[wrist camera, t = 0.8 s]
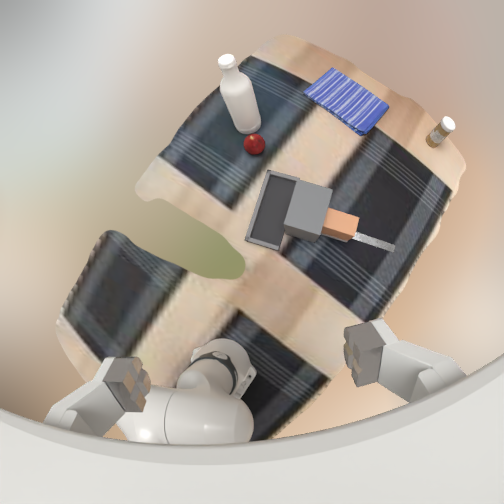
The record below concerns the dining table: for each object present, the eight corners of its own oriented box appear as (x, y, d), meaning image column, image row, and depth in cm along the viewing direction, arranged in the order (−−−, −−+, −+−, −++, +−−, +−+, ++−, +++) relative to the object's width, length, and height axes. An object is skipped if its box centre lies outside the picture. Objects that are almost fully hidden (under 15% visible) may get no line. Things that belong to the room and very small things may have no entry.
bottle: (265, 128, 76) (250, 61, 46) (241, 139, 77) (215, 76, 47) (254, 109, 77) (235, 42, 47) (231, 120, 78) (203, 56, 48)
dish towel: (362, 139, 72) (364, 135, 69) (301, 95, 76) (301, 90, 73) (389, 109, 71) (392, 104, 68) (332, 69, 75) (332, 64, 72)
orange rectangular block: (346, 242, 70) (354, 238, 60) (295, 226, 72) (295, 219, 62) (351, 224, 70) (360, 216, 60) (300, 208, 72) (301, 198, 62)
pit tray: (278, 250, 73) (277, 250, 70) (246, 240, 74) (244, 239, 72) (299, 181, 73) (299, 178, 71) (268, 172, 75) (267, 169, 72)
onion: (269, 144, 75) (266, 131, 67) (261, 161, 75) (258, 149, 67) (250, 138, 76) (246, 125, 68) (243, 155, 76) (237, 143, 68)
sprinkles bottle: (430, 133, 68) (447, 113, 55) (439, 143, 67) (458, 125, 54) (423, 139, 68) (440, 120, 55) (432, 150, 68) (451, 132, 54)
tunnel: (314, 243, 71) (320, 235, 56) (285, 234, 73) (283, 224, 58) (325, 206, 72) (332, 189, 57) (296, 197, 73) (297, 179, 58)
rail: (393, 252, 68) (393, 252, 68) (290, 219, 73) (290, 218, 73) (395, 245, 68) (395, 245, 68) (292, 212, 73) (292, 211, 73)
